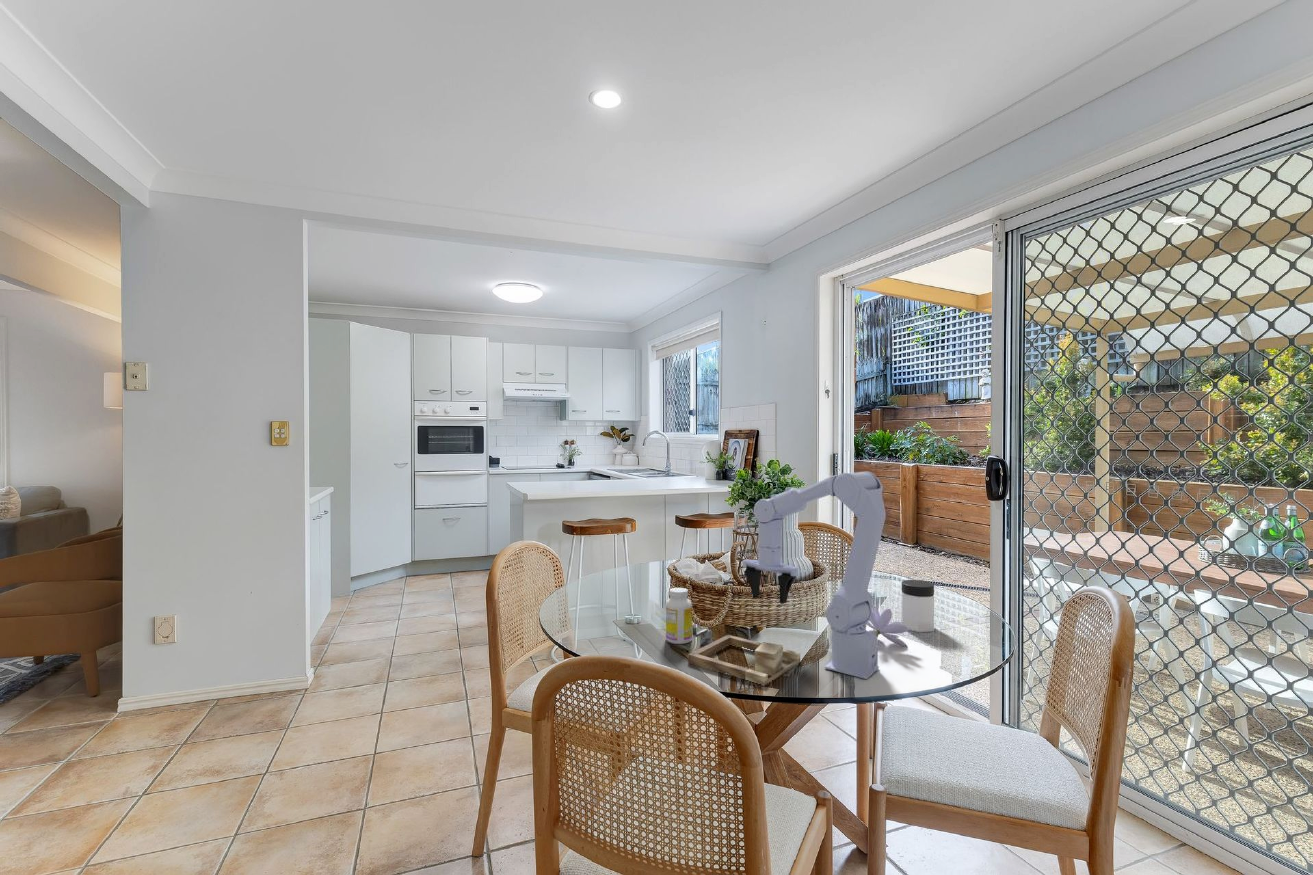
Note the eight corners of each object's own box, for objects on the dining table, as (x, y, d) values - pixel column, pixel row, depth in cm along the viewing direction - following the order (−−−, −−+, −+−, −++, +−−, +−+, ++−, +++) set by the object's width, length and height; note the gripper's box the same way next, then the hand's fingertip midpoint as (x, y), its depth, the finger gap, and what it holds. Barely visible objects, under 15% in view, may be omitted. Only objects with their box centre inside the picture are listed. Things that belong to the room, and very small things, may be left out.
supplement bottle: (690, 635, 155) (691, 586, 155) (693, 644, 149) (693, 593, 149) (664, 635, 155) (665, 586, 155) (666, 645, 149) (666, 593, 148)
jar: (940, 628, 162) (941, 584, 162) (926, 635, 157) (926, 589, 156) (909, 620, 169) (909, 577, 169) (893, 626, 164) (894, 582, 163)
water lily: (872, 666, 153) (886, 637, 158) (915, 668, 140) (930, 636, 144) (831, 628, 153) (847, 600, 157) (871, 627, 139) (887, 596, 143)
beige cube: (782, 666, 136) (783, 644, 136) (774, 677, 130) (774, 654, 130) (763, 663, 138) (763, 641, 138) (754, 673, 132) (754, 650, 132)
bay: (800, 661, 138) (800, 653, 138) (764, 686, 125) (764, 676, 125) (727, 642, 151) (727, 634, 151) (688, 662, 137) (688, 654, 137)
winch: (704, 641, 151) (704, 619, 151) (714, 643, 149) (714, 622, 149) (688, 649, 146) (688, 627, 146) (698, 652, 144) (698, 629, 144)
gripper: (803, 547, 150) (803, 601, 150) (752, 540, 159) (752, 591, 159) (790, 552, 144) (790, 608, 145) (738, 544, 153) (738, 597, 154)
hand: (769, 600), depth 152 cm, fingers open, 7 cm apart
